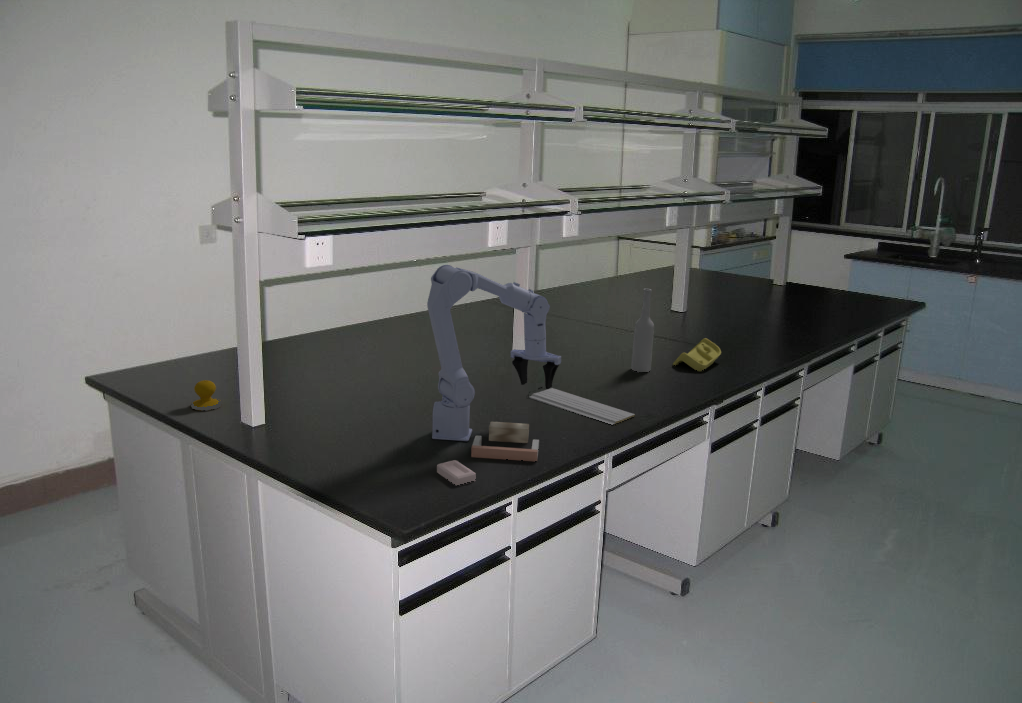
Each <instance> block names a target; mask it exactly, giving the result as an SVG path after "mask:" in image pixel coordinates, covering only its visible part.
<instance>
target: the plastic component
mask: <svg viewBox="0 0 1022 703" xmlns="http://www.w3.org/2000/svg"><path fill="white" fill-rule="evenodd" d="M720 355H722V350H721V348H720V347H719V346H718V345H717V344H716V343H715V342H713V341H711V340H710V339H708V338H706V337H705V338H703V339H701V340H700V341H699V342H698V343H697V344H696V345H695V346H694V347H693V348H692V349H690V351H689V352H688V353H687V352H682V353H681V354H680V355H678V357H677V358H676V359H675V360H674V361H673V363H672V366H674V365H675V366H674V367H676V365H677V366H678V365H680V364H682V362H684V363H685V364H686V365H688V366H689V367H690V368H692V369H694V371H696V370H697V372H703V371H704V369H705V370H706V369H708V368H709V367H710V366H711V365H713V364H714V362H715V361H716V360H718V358H719V357H720ZM679 363H680V364H679ZM702 370H703V371H702Z"/></svg>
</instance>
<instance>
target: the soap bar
mask: <svg viewBox="0 0 1022 703" xmlns="http://www.w3.org/2000/svg"><path fill="white" fill-rule="evenodd" d="M436 473H438V474H439V475H440V476H441V477H443V478H444V479H446V480H447V479H448V480H447V481H449V483H451V482H452V483H451V484H452V485H454V484H455V485H454V486H457V485H459V486H461V485H460V484H463V485H465V484H464V483H466V484H468V483H467V482H470V483H472V482H471V481H474V482H476V480H475V479H476V478H477V477H476V476H477V475H476V474H477V473H476V472H474V471H473V470H471V469H470V468H468V467H467V466H465V465H464V464H462V463H461V462H459V460H456V459H454V460H448V461H445V462H441V463H438V464H437V465H436Z"/></svg>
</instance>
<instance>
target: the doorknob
mask: <svg viewBox="0 0 1022 703" xmlns="http://www.w3.org/2000/svg"><path fill="white" fill-rule="evenodd" d="M193 390H194V392H195V393H196V395H197V396H198V397H199V399H197V400H194V402H193V401H192V402H193V404H194V406H197V407H203V406H204V407H207V406H213V405H216V404H218V402H219V401H218V400H219V399H218V398H214V399H213V397H212V396H213V395H214V394H215V392H216V390H217V386H216V384H215V382H213V381H211V380H206V379H205V380H204V379H203V380H200V381H198V382H196V384H195V385H194V387H193ZM217 399H218V400H217Z"/></svg>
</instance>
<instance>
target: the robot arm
mask: <svg viewBox="0 0 1022 703" xmlns="http://www.w3.org/2000/svg"><path fill="white" fill-rule="evenodd" d="M430 281H431V286H430V290H429V294H428V298H427V302H426V304H427V305H426V307H427V310H428V314H429V316H428V317H429V320H430V324H431V328H432V333H433V337H434V342H435V346H436V347H435V348H436V350H437V356H438V359H439V364H440V370H439V371H438V373H437V374H438V384H437V389H438V392H439V394H440V395H441V396H442V397H441V400H440V401H434V403H433V409H432V433H431V439H433V440H443V441H459V442H468V441H469V440H470V438H471V435H472V432H473V429H472V428H470V418H471V416H470V411H471V409H470V408H471V403H472V402H473V400H474V398H475V395H476V391H475V387H474V386H473V385H472V384H471V382H470V380H469V376H468V374H467V373H466V371H465V369H464V368H463V364H462V360H461V359H462V358H461V354H460V350H459V345H458V340H457V336H456V331H455V328H454V321H453V317H452V316H453V315H452V312H451V310H452V307H454V305H455V304H456V303H458V302H459V301H460V300H461V299H463V298H464V297H465V296H466V295H467V294H468V293H469V292H475V291H476V290H478V289H479V290H481V291H484V292H487V293H489V294H492V295H495V296H497V297H498V299H499V301H500V302H501V304H503V305H505V306H508V307H510V308H512V309H514V310H518V311H520V312H521V313H523V327H524V328H523V329H524V330H523V333H524V334H523V335H524V349H515V348H514V349H511V350H510V358H511V359H513V360H512V361H511V364H512V365H513V367H514V368H515V371H516V373H517V376H518V377H519V378H518V379H519V381H520V385H521V386H525V385H526V384H527V383H528V365H529V361H535V362H541V363H545V364H544V365H543V366H542V369H543V372H544V378H545V379H544V380H545V381H544V384H545V385H544V386H545V387H544V388H545V390H547V389H550V388H553V383H554V382H553V381H554V377H555V375H556V372H557V370H558V368H559V366H560V365H561V363H562V355H557V354H554V353H551V352H548V351H547V333H546V332H547V331H546V330H547V328H546V327H547V326H546V321H547V314H548V313H549V312H550V308H551V305H550V304H549V302H548V300H547V298H546V297H545V296H543V295H540V294H538V293H535V292H534V290H532V289H530V288H529V289H527V288H524V287H521V286H520V285H521V284H520V283H518V282H516V281H513V282H508V283H505V284H501V283H499V282H497V281H495V280H493V279H491V278H489V277H487V276H484V275H483V274H480V273H478V272H476V271H471V270H468V269H464V268H462V267H461V268H460V267H454V266H452V265H451V264H442V265H440V266H439V267H438V268H437V269H436V270H435V271H434V273H433V274H432V275H431V277H430Z"/></svg>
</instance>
